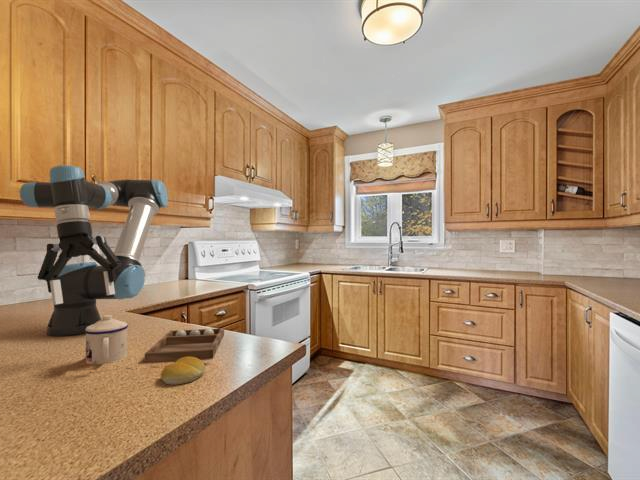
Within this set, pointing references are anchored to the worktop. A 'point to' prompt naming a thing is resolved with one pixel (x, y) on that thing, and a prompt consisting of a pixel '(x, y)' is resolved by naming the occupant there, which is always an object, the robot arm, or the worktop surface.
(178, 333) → the pebble
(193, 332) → the pebble
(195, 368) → the bread roll
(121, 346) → the teacup with lid
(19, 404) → the worktop surface
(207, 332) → the pebble
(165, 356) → the parts tray
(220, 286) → the worktop surface
